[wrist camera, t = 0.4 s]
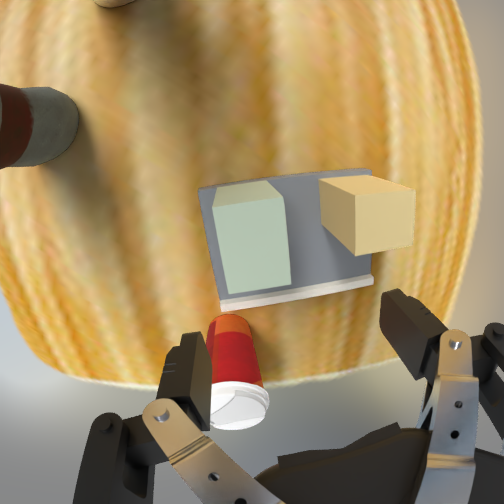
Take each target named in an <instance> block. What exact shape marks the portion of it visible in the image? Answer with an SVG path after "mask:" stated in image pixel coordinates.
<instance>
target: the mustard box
mask: <svg viewBox="0 0 504 504" xmlns="http://www.w3.org/2000/svg"><path fill="white" fill-rule="evenodd" d="M318 181H319V194H320V209H321V224H322V225H323V226H324V227H325V228H326V229H327V230H328V231H329V232H331V233H332V234H333V235H334V236H335V237H336V238H337V239H338V240H339V241H340V242H341V243H342V244H343V245H344V246H345V247H346V248H347V249H348V250H349V251H350V252H351V253H352V254H354V255H355V256H359V255H365V254H370V253H375V252H381V251H386V250H391V249H397V248H402V247H407V246H412V245H413V238H414V224H415V202H416V190H414V189H411V188H408V187H405V186H402V185H399V184H396V183H393V182H390V181H387V180H384V179H381V178H377V177H374V176H371V175H357V176H345V177H333V178H323V179H318Z"/></svg>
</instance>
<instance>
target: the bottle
mask: <svg viewBox="0 0 504 504" xmlns="http://www.w3.org/2000/svg"><path fill="white" fill-rule="evenodd" d="M78 124H79V114H78V110H77V107H76V104H75V103H74V102H73V101H72V100H71V99H70V98H69V97H68V96H67V95H66V94H64V93H62V92H59V91H57V90H55V89H52V88H50V87H30V88H17V87H13V86H8V85H4V84H0V169H3V168H5V167H29V166H36V165H39V164H42V163H45V162H47V161H50V160H52V159H54V158H56V157H57V156H59V155H60V154H61V153H63V152H64V151H65V150H67V148H68V147H69V146H70V144H71V143H72V142H73V140H74V137H75V135H76V133H77V129H78Z"/></svg>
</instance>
